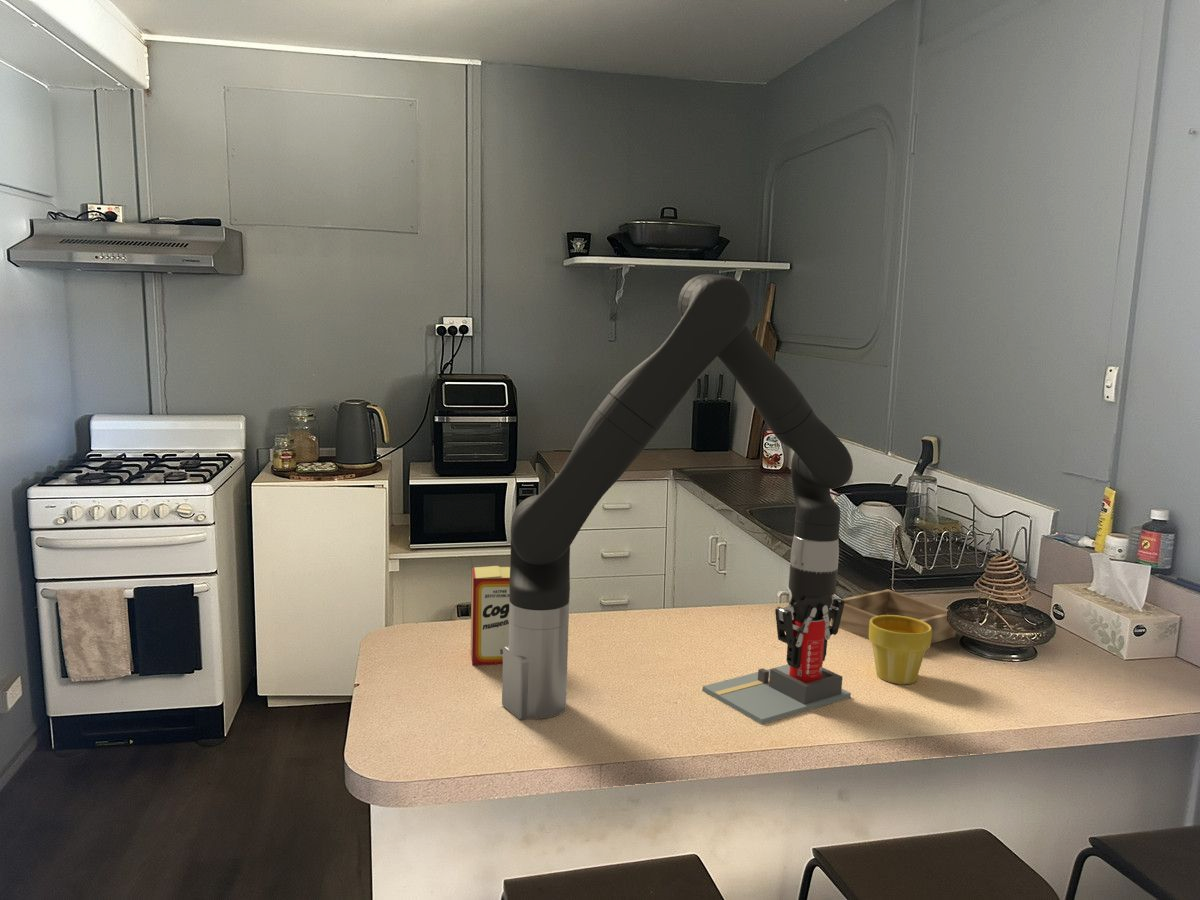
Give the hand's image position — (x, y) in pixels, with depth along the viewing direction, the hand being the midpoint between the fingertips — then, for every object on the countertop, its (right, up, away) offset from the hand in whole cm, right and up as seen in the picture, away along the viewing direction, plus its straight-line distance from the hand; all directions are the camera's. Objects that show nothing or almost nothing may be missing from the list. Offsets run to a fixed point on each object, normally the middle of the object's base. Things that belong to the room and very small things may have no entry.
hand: (806, 662), depth 148 cm
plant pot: (+18, -5, +10) cm, 21 cm away
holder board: (-5, -5, +1) cm, 7 cm away
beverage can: (0, -4, +1) cm, 4 cm away
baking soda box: (-52, -2, +12) cm, 54 cm away
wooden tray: (+25, -1, +33) cm, 42 cm away
